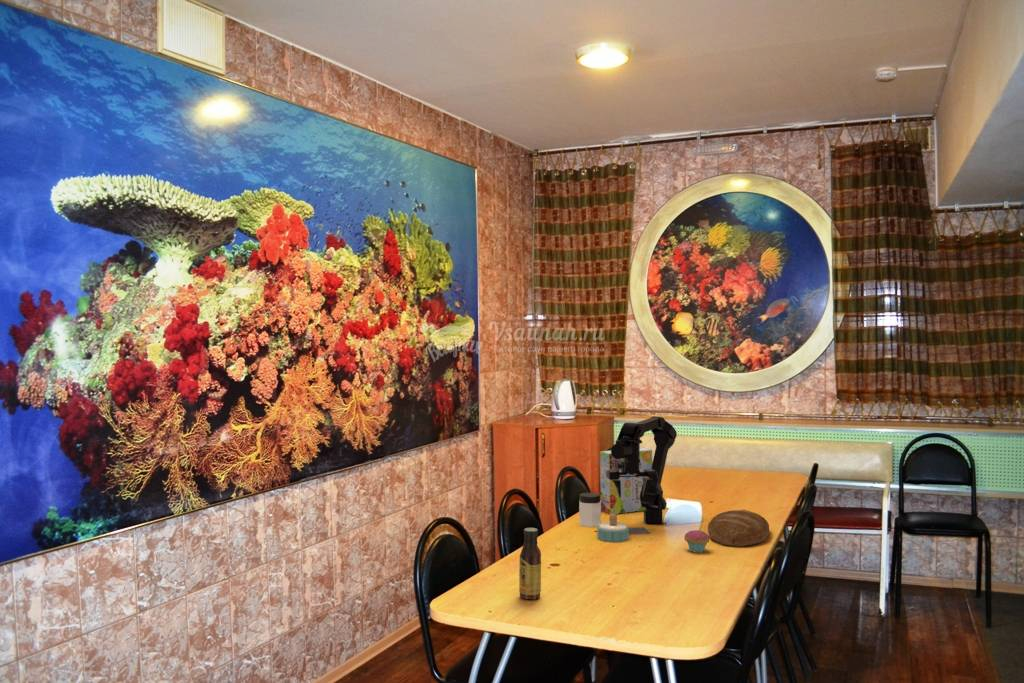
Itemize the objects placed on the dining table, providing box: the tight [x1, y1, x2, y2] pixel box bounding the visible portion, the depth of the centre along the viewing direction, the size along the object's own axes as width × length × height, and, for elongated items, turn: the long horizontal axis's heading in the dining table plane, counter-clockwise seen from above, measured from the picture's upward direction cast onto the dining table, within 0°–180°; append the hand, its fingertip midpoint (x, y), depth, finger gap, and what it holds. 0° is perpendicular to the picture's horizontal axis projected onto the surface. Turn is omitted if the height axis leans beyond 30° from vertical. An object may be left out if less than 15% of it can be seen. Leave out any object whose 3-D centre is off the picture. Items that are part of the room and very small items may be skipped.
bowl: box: [596, 526, 630, 543], centre depth 312 cm, size 11×11×4 cm
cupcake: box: [683, 517, 711, 553], centre depth 296 cm, size 9×8×12 cm
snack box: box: [599, 447, 653, 515], centre depth 359 cm, size 22×9×26 cm, turn 115°
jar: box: [578, 492, 602, 528], centre depth 333 cm, size 9×8×12 cm
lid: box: [598, 513, 628, 532], centre depth 312 cm, size 10×10×5 cm
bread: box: [707, 509, 770, 547], centre depth 319 cm, size 22×37×8 cm, turn 159°
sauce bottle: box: [518, 527, 542, 600], centre depth 245 cm, size 6×6×20 cm
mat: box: [628, 526, 652, 535], centre depth 323 cm, size 10×10×1 cm
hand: (631, 497), depth 324 cm, fingers open, 9 cm apart
